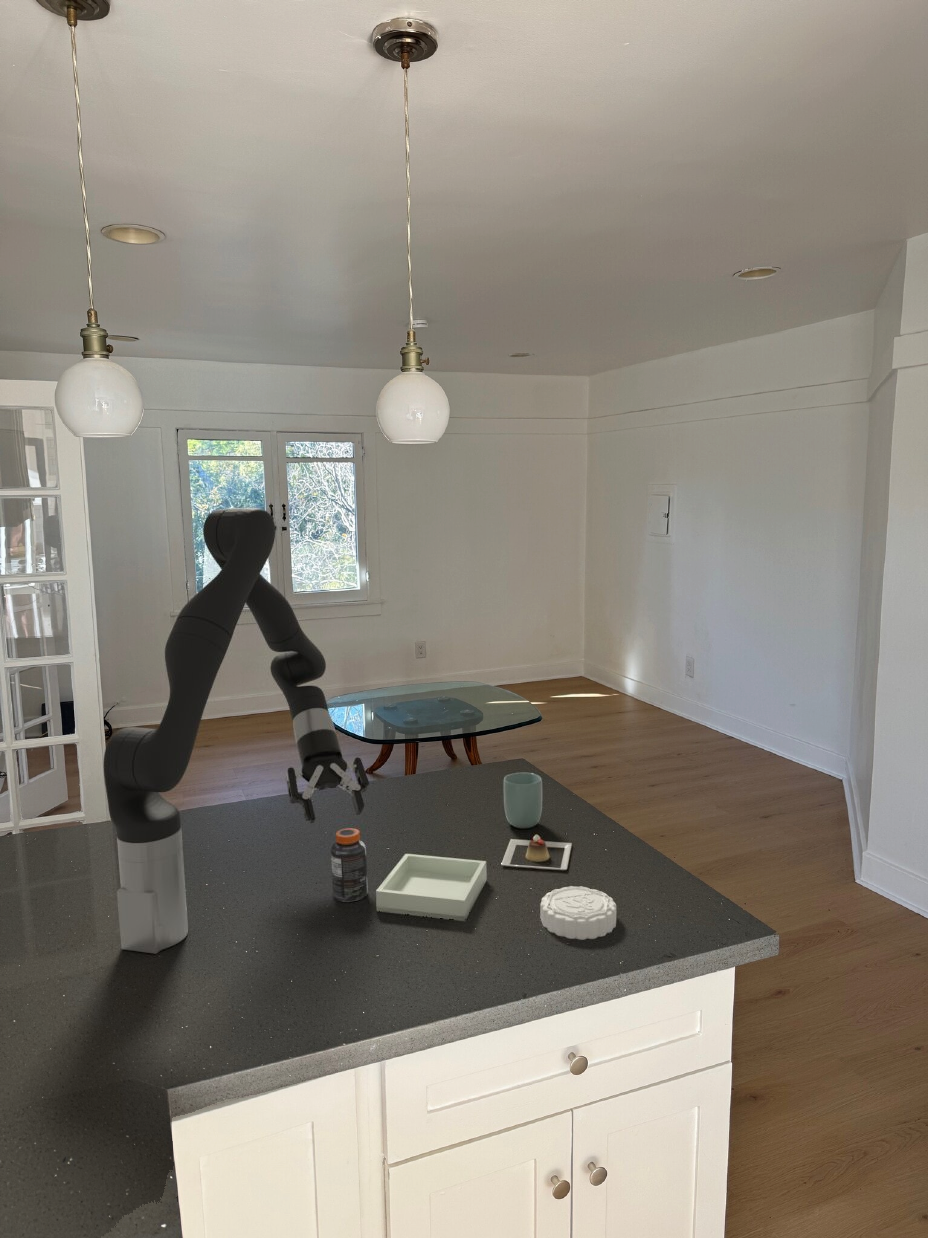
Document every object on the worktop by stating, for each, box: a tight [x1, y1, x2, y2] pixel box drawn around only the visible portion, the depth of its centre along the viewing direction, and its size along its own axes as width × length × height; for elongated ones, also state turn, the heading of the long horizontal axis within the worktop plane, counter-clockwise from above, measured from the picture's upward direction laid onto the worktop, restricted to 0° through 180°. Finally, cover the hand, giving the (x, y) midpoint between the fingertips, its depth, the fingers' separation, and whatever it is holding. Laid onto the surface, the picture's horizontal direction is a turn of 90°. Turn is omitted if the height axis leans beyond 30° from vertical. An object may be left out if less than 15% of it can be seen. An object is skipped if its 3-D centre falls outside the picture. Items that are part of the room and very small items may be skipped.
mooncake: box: [539, 885, 617, 941], centre depth 132 cm, size 12×12×4 cm
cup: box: [503, 771, 543, 829], centre depth 171 cm, size 8×8×10 cm
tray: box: [375, 853, 488, 922], centre depth 141 cm, size 15×15×4 cm
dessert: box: [500, 834, 573, 871], centre depth 156 cm, size 12×12×5 cm
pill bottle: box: [330, 827, 369, 903], centre depth 141 cm, size 6×6×11 cm
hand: (336, 817), depth 146 cm, fingers open, 8 cm apart
